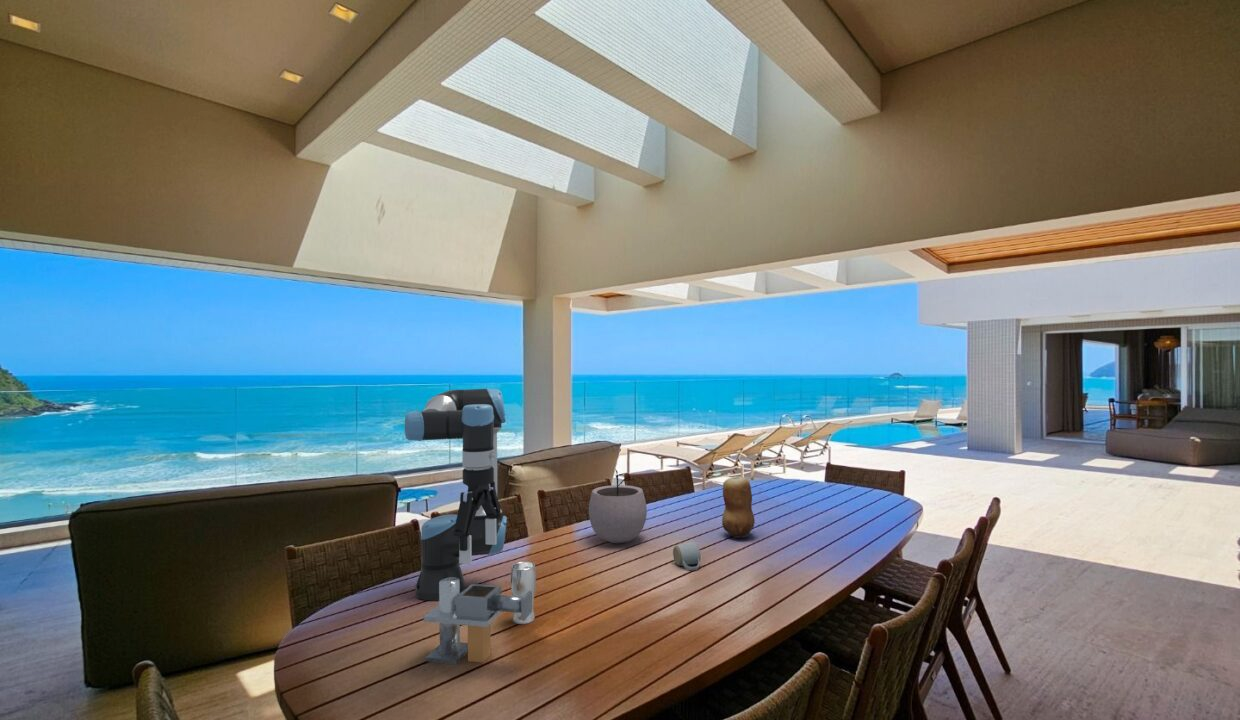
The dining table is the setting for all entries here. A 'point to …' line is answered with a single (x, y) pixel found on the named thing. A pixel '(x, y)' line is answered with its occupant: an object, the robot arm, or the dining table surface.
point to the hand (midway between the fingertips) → (478, 553)
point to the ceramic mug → (687, 555)
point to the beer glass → (523, 586)
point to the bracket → (490, 602)
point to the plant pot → (617, 512)
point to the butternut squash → (737, 507)
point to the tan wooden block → (479, 643)
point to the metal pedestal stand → (451, 624)
